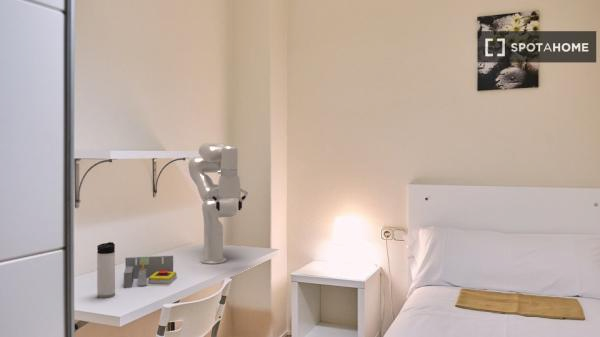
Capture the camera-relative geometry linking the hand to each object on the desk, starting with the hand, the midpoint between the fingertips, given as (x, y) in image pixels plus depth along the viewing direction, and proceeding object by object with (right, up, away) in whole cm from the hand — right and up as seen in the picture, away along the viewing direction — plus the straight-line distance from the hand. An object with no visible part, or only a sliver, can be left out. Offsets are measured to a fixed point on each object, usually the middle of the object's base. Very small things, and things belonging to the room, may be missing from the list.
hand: (229, 210), depth 228 cm
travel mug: (-41, -30, -39) cm, 64 cm away
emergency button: (-26, -29, -17) cm, 43 cm away
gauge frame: (-31, -29, -18) cm, 46 cm away
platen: (-33, -29, -21) cm, 49 cm away
